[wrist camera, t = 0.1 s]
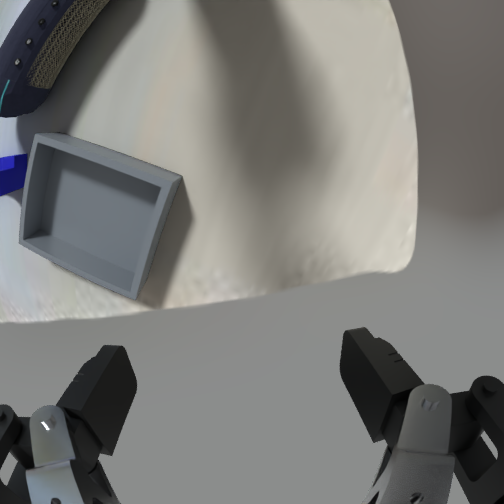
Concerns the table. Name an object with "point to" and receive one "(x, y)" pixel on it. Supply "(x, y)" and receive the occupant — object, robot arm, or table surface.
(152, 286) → the table surface
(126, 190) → the bin
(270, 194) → the table surface
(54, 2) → the portable speaker
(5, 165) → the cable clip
